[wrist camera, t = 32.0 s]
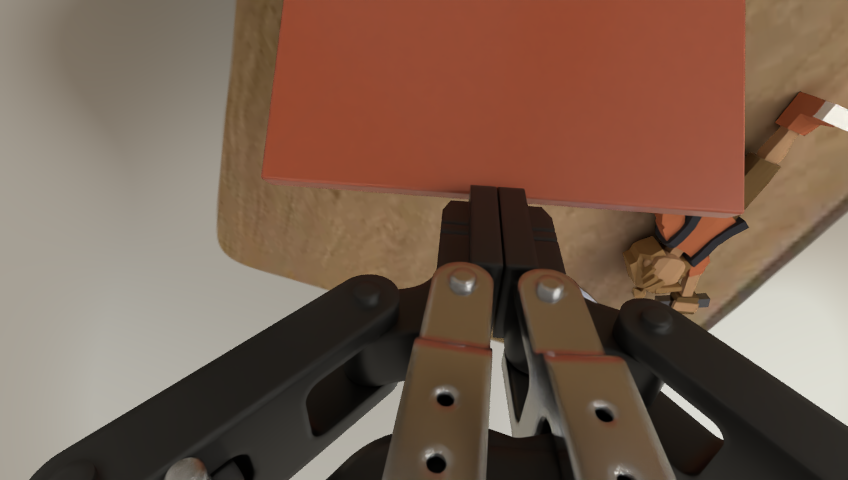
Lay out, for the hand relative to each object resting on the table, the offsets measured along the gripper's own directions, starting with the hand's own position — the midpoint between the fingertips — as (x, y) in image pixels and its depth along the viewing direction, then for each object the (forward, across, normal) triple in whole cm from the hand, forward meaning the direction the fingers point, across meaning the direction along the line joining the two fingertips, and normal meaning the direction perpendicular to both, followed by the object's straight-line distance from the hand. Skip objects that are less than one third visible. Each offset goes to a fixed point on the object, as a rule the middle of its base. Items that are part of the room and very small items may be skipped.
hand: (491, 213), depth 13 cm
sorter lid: (+6, 0, -6) cm, 8 cm away
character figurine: (+20, -17, +10) cm, 28 cm away
